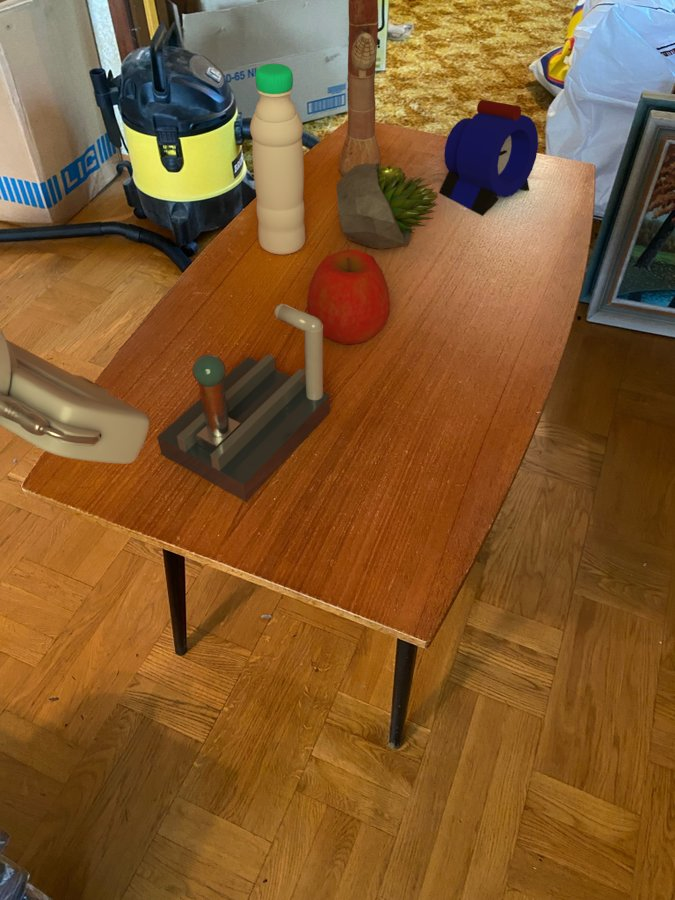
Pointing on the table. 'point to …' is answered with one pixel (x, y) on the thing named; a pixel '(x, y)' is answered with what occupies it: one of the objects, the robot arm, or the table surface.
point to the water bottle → (278, 162)
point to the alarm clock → (489, 156)
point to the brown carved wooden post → (361, 87)
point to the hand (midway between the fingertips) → (94, 394)
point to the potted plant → (381, 205)
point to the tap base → (256, 416)
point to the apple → (349, 297)
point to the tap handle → (213, 402)
